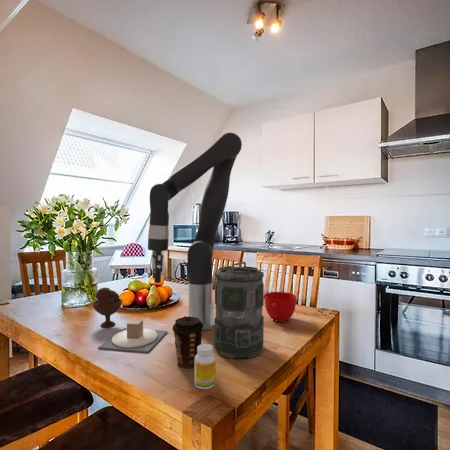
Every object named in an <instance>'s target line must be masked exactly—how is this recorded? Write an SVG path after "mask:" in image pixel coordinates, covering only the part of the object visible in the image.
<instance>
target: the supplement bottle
mask: <svg viewBox="0 0 450 450" xmlns="http://www.w3.org/2000/svg"><path fill="white" fill-rule="evenodd" d="M213 352H214V346H213V345H212V344H209V343H201V345H199V346H198V347H197V353H198V354H196V356H195V359H194V369H193V371H194V374H193V375H194V379H193V383H194V386H195V388H197V389H200V390H209V389H211V388H213V387H214V386H215V385H216V356H215V354H214V353H213Z"/></svg>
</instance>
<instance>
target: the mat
mask: <svg viewBox="0 0 450 450" xmlns="http://www.w3.org/2000/svg"><path fill="white" fill-rule="evenodd" d="M125 330H127V327H124V328H122V329H121V330H120V331H118V332H117V333H119V332H122V331H125ZM153 330H154V331H156V332H157V339H156V340H155V341H154V342H152V343H151V344H148V345H145V346H141V347H135V348H122V347H117V346H115V345H114V344H113V343H112V337H113V336H111V337H110V338H108V339H107V340H105V342H103V343H102V344H101V345H99V346H98V347H97V349H98V350H107V351H118V352H129V353H130V352H131V353H142V354H149V353H150V352H151V351H152V350H153V349H154V347H155V346H156V345H157V344H158V343H159V342H161V340H162V339H163V338H164V337H165V336H166V335H167V334H168V330H159V329H158V330H157V329H153Z"/></svg>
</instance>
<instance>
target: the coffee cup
mask: <svg viewBox="0 0 450 450" xmlns="http://www.w3.org/2000/svg"><path fill="white" fill-rule="evenodd" d="M202 328H203V324H202V323H201V320H200V319H199V318H197V317H190V316H189V315H188V316H182V317H180V318H177V319H175V323H174V324H173V325H172V328H171V330H172V331H173V337H174V345H175V346H174V347H175V354H176V355H175V356H176V361H177V363H176V366H177V368H178V369H179V370H181V371H191V370H194V359H195V356H196V354H198V353H197V347H198V346H199V345H201V344H202V337H203V334H202V333H203V330H202Z"/></svg>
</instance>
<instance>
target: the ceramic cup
mask: <svg viewBox="0 0 450 450" xmlns="http://www.w3.org/2000/svg"><path fill="white" fill-rule="evenodd" d="M264 305H265V310H266V313H267V314H268V316H269V317H270V319H271V320H272V319H273V320H272V321H274V320H277V321H286V320H288V321H289V320H290V319H291V318H292V317H293V315H294V313H295V310H296V305H297V296H296V295H295V294H293V293H291V292H286V291H285V292H284V291H270V292H266V293H265V294H264ZM286 322H287V321H286Z"/></svg>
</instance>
